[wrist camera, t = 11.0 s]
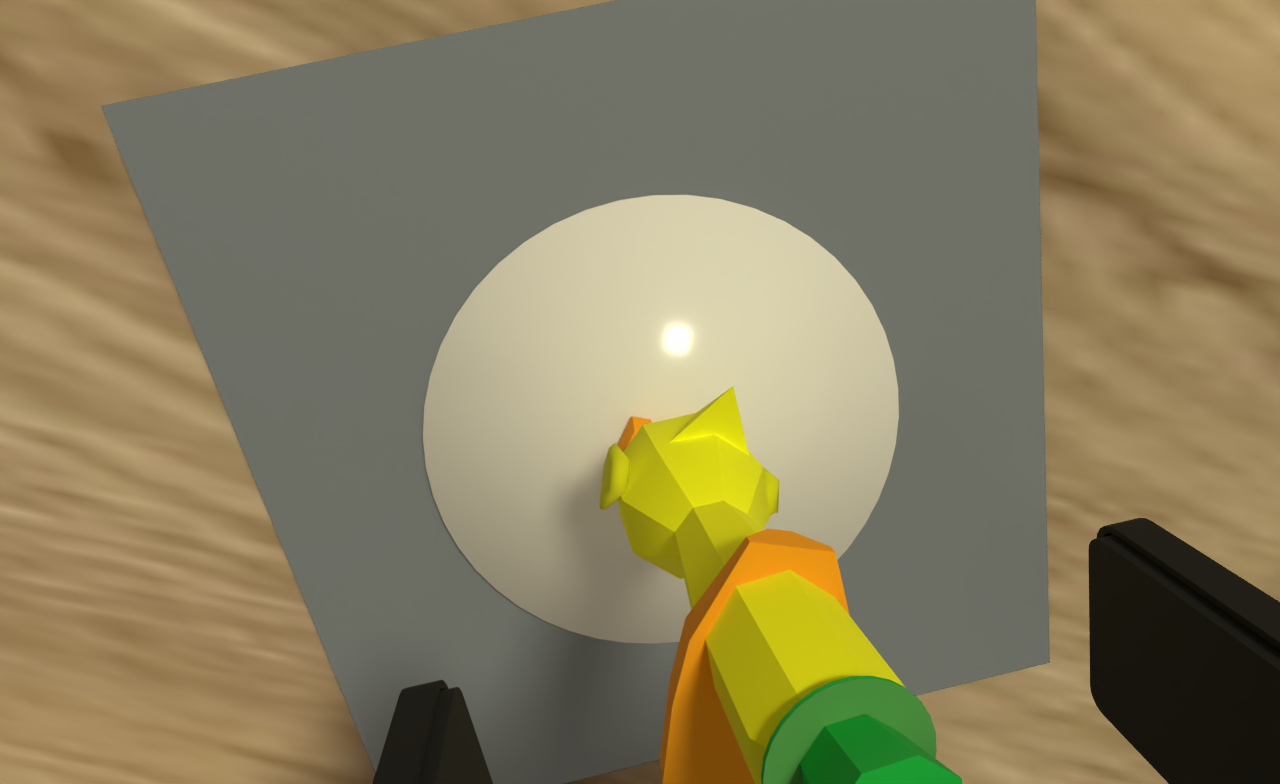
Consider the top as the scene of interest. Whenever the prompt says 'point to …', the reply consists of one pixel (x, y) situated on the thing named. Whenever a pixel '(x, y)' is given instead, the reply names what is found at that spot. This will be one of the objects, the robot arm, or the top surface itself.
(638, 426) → the toy figure
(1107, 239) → the top surface
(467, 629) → the slate tile
